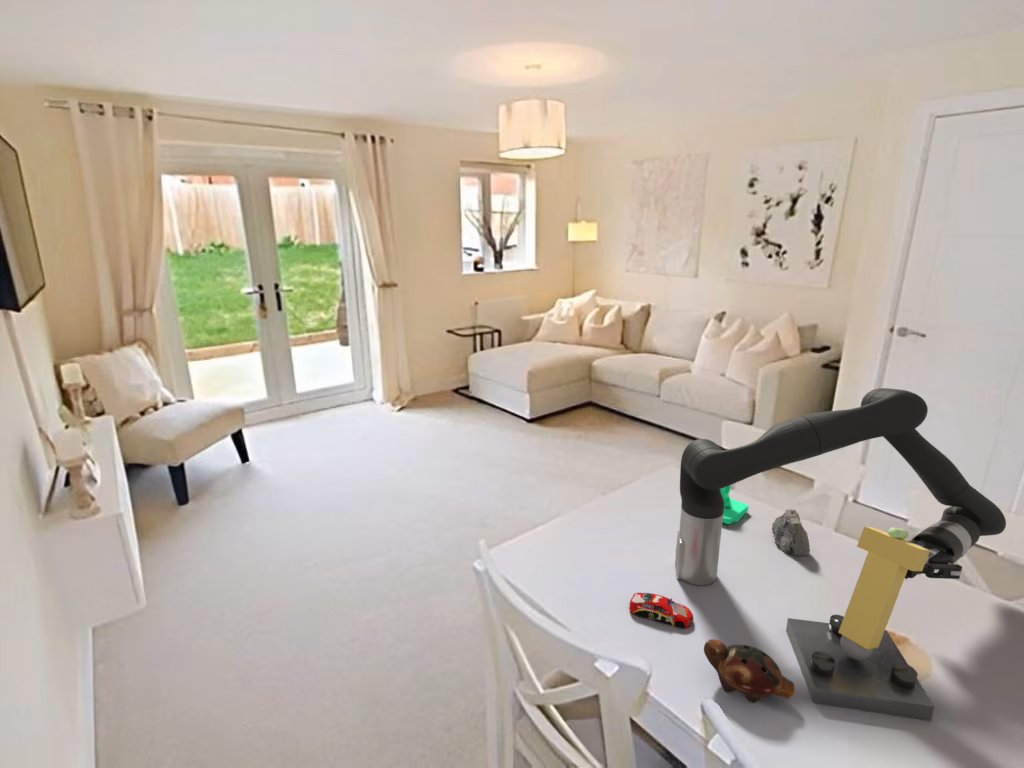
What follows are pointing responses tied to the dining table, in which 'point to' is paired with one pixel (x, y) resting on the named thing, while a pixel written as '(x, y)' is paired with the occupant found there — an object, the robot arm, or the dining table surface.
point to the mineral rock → (791, 534)
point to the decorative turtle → (747, 671)
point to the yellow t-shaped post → (878, 588)
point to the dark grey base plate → (856, 672)
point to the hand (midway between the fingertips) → (903, 573)
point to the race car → (661, 609)
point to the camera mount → (732, 507)
